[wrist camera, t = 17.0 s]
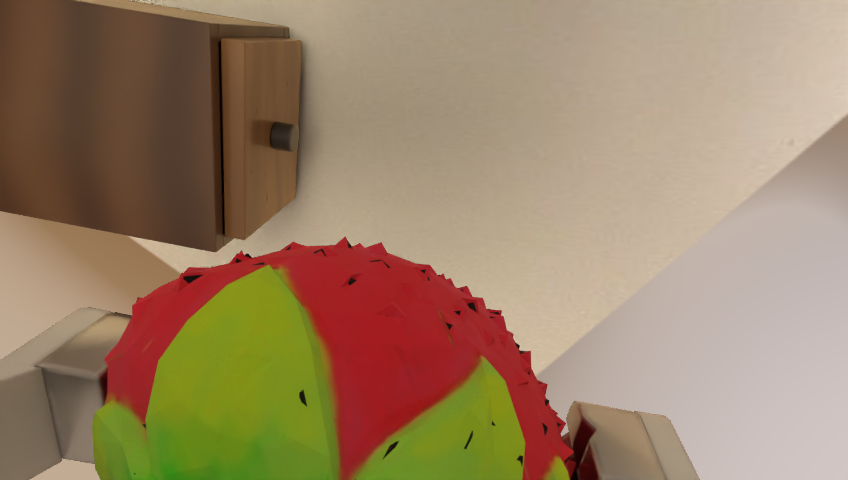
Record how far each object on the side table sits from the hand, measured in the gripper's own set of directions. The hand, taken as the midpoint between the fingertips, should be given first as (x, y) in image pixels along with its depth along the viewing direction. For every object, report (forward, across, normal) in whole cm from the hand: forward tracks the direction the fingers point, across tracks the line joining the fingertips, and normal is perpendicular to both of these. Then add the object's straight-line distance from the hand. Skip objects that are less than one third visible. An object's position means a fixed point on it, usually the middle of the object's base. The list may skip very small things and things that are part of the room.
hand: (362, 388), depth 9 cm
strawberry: (+4, 0, 0) cm, 4 cm away
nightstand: (+25, +18, +1) cm, 31 cm away
